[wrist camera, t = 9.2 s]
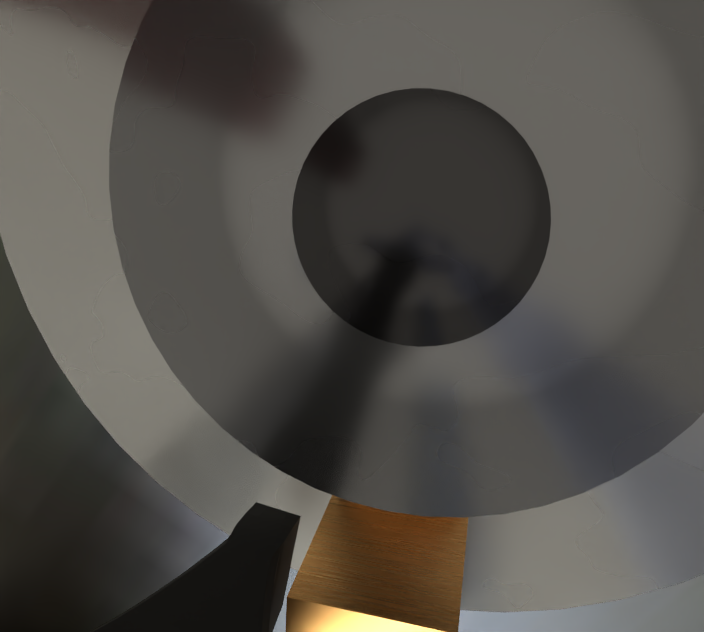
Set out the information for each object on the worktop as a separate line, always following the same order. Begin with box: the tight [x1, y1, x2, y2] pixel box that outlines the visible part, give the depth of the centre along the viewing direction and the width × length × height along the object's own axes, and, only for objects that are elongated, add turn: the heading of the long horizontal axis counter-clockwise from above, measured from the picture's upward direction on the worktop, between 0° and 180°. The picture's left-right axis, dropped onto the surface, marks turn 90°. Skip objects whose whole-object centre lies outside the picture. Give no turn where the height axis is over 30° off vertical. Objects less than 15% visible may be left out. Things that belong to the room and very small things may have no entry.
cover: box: [109, 0, 704, 518], centre depth 8 cm, size 7×7×4 cm
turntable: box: [0, 0, 704, 632], centre depth 9 cm, size 16×16×4 cm
